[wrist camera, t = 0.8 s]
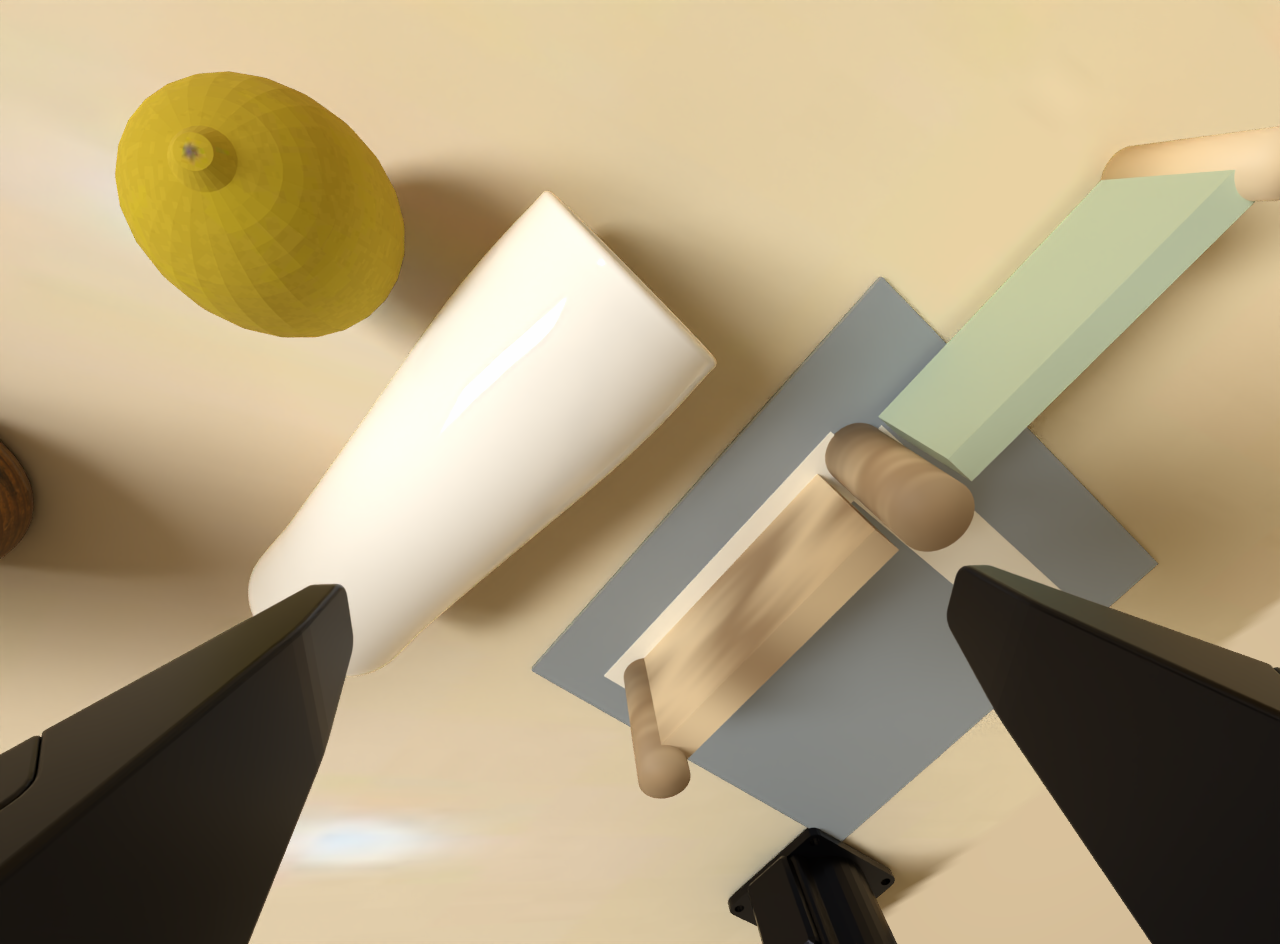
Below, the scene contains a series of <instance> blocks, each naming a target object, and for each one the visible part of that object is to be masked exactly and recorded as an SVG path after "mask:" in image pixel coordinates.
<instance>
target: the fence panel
mask: <svg viewBox="0 0 1280 944" xmlns="http://www.w3.org/2000/svg"><path fill="white" fill-rule="evenodd" d="M1277 200H1280V126H1278V127H1270V128H1263V129H1255V130H1248V131H1240V132H1233V133H1225V134H1218V135H1210V136H1203V137H1195V138H1188V139H1180V140H1173V141H1165V142H1158V143H1150V144H1143V145H1135V146H1129V147H1126V148H1123V149H1121V150H1120V151H1118V152H1117V153H1116V154H1115V155H1114V156H1113V157H1112V158H1111V159H1110V160H1109V162H1108V163H1107V165H1106V167H1105V169H1104V171H1103V174H1102V178H1101V181H1100V182H1099V183H1098V184H1097V185H1096V186H1095V187H1094V188H1093V189H1092V190H1091V192H1090V193H1089V194H1088V195H1087V196H1086V197H1085V198H1084V199H1083V200H1082V201H1081V202H1080V203H1079V204H1078V205H1077V206H1076V207H1075V208H1074V210H1073V211H1072V212H1071V213H1070V214H1069V215H1068V216H1067V217H1066V218H1065V219H1064V220H1063V221H1062V222H1061V223H1060V224H1059V225H1058V226H1057V228H1056V229H1055V230H1054V231H1053V232H1052V233H1051V234H1050V235H1049V236H1048V237H1047V238H1046V239H1045V240H1044V241H1043V242H1042V243H1041V245H1040V246H1039V247H1038V248H1037V249H1036V250H1035V251H1034V252H1033V253H1032V254H1031V255H1030V256H1029V257H1028V258H1027V259H1026V260H1025V261H1024V263H1023V264H1022V265H1021V266H1020V267H1019V268H1018V269H1017V270H1016V271H1015V272H1014V273H1013V274H1012V275H1011V276H1010V277H1009V278H1008V279H1007V281H1006V282H1005V283H1004V284H1003V285H1002V286H1001V287H1000V288H999V289H998V290H997V291H996V292H995V293H994V294H993V295H992V296H991V297H990V299H989V300H988V301H987V302H986V303H985V304H984V305H983V306H982V307H981V308H980V309H979V310H978V311H977V312H976V313H975V314H974V316H973V317H972V318H971V319H970V320H969V321H968V322H967V323H966V324H965V325H964V326H963V327H962V328H961V329H960V330H959V331H958V332H957V334H956V335H955V336H954V337H953V338H952V339H951V340H950V341H949V342H948V343H947V344H946V345H945V346H944V347H943V348H942V349H941V350H940V352H939V353H938V354H937V355H936V356H935V357H934V358H933V359H932V360H931V361H930V362H929V363H928V364H927V365H926V366H925V367H924V369H923V370H922V371H921V372H920V373H919V374H918V375H917V376H916V377H915V378H914V379H913V380H912V381H911V382H910V383H909V384H908V385H907V387H906V388H905V389H904V390H903V391H902V392H901V393H900V394H899V395H898V396H897V397H896V398H895V399H894V400H893V401H892V402H891V403H890V405H889V406H888V407H887V408H886V409H885V410H884V411H883V412H882V413H881V414H880V415H879V416H878V417H879V418H880V419H881V420H882V421H883V422H884V423H886V424H887V425H888V426H889V427H890V428H891V429H892V430H893V431H894V432H895V433H896V434H897V435H898V436H900V437H902V438H903V439H905V440H906V441H908V442H910V443H911V444H913V445H914V446H916V447H918V448H919V449H921V450H922V451H924V452H926V453H927V454H929V455H930V456H932V457H933V458H935V459H937V460H938V461H940V462H941V463H943V464H945V465H946V466H948V467H949V468H951V469H953V470H954V471H956V472H957V473H959V474H961V475H962V476H964V477H965V478H967V479H969V480H970V481H973V480H974V479H975V478H976V477H977V476H978V475H979V474H980V473H981V472H982V471H983V470H984V469H985V468H986V467H987V466H988V465H989V464H990V463H991V462H992V461H993V460H994V459H995V458H996V457H997V456H998V455H999V454H1000V453H1001V452H1002V451H1003V450H1004V449H1005V448H1006V447H1007V446H1008V445H1009V444H1010V443H1011V442H1012V441H1013V440H1014V439H1015V438H1016V437H1017V436H1018V435H1019V434H1020V433H1021V432H1022V431H1023V430H1024V429H1025V428H1026V427H1027V426H1028V425H1029V424H1030V423H1031V422H1032V421H1033V420H1034V419H1035V418H1036V417H1037V416H1038V415H1039V414H1041V413H1042V412H1043V411H1044V410H1045V409H1046V408H1047V407H1048V406H1049V405H1050V404H1051V403H1052V402H1053V401H1054V400H1055V399H1056V398H1057V397H1058V396H1059V395H1060V394H1061V393H1062V392H1063V391H1064V390H1065V389H1066V388H1067V387H1068V386H1069V385H1070V384H1071V383H1072V382H1073V381H1074V380H1075V379H1076V378H1077V377H1078V376H1079V375H1080V374H1081V373H1082V372H1083V371H1084V370H1085V369H1086V368H1087V367H1088V366H1089V365H1090V364H1091V363H1092V362H1093V361H1094V360H1095V359H1096V358H1097V357H1098V356H1099V355H1100V354H1101V353H1102V352H1103V351H1104V350H1105V349H1106V348H1107V347H1108V346H1109V345H1110V344H1111V343H1112V342H1113V341H1114V340H1115V339H1116V338H1117V337H1119V336H1120V335H1121V334H1122V333H1123V332H1124V331H1125V330H1126V329H1127V328H1128V327H1129V326H1130V325H1131V324H1132V323H1133V322H1134V321H1135V320H1136V319H1137V318H1138V317H1139V316H1140V315H1141V314H1142V313H1143V312H1144V311H1145V310H1146V309H1147V308H1148V307H1149V306H1150V305H1151V304H1152V303H1153V302H1154V301H1155V300H1156V299H1157V298H1158V297H1159V296H1160V295H1161V294H1162V293H1163V292H1164V291H1165V290H1166V289H1167V288H1168V287H1169V286H1170V285H1171V284H1172V283H1173V282H1174V281H1175V280H1176V279H1177V278H1178V277H1179V276H1180V275H1181V274H1182V273H1183V272H1184V271H1185V270H1186V269H1187V268H1188V267H1189V266H1190V265H1191V264H1192V263H1193V262H1194V261H1196V260H1197V259H1198V258H1199V257H1200V256H1201V255H1202V254H1203V253H1204V252H1205V251H1206V250H1207V249H1208V248H1209V247H1210V246H1211V245H1212V244H1213V243H1214V242H1215V241H1216V240H1217V239H1218V238H1219V237H1220V236H1221V235H1222V234H1223V233H1224V232H1225V231H1226V230H1227V229H1228V228H1229V227H1230V226H1231V225H1232V224H1233V223H1234V222H1235V221H1236V220H1237V219H1238V218H1239V217H1240V216H1241V215H1242V214H1243V213H1244V212H1245V211H1246V210H1247V209H1248V208H1249V207H1250V206H1251V205H1252V204H1253V203H1254V202H1255V201H1277Z"/></svg>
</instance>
